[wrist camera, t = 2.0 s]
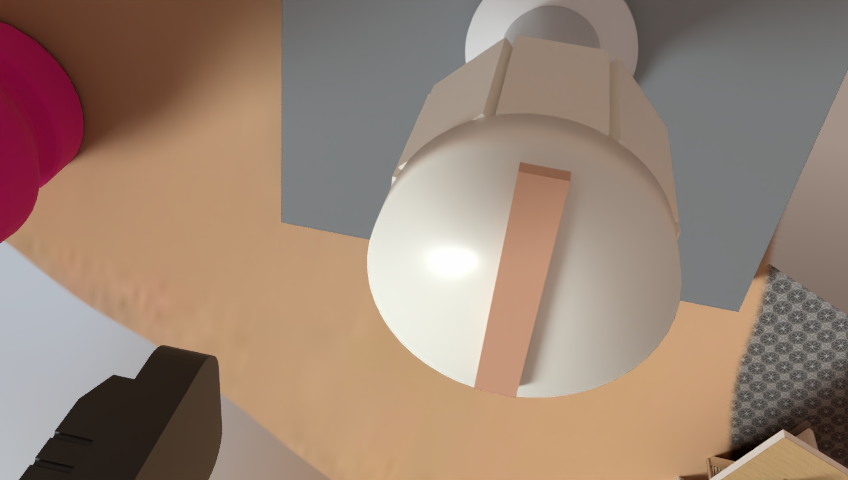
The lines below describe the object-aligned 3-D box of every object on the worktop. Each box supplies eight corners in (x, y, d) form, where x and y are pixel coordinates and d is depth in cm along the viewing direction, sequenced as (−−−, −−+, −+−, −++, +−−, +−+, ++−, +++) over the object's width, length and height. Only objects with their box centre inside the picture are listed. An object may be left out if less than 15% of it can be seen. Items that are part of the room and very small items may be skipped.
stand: (302, -330, 20) (46, -342, 11) (960, -240, 19) (1313, -164, 9) (294, 199, 29) (153, 438, 20) (732, 284, 28) (798, 581, 19)
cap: (433, 15, 16) (373, 127, 12) (698, 61, 16) (729, 193, 12) (408, 228, 20) (354, 374, 15) (628, 272, 19) (634, 435, 15)
